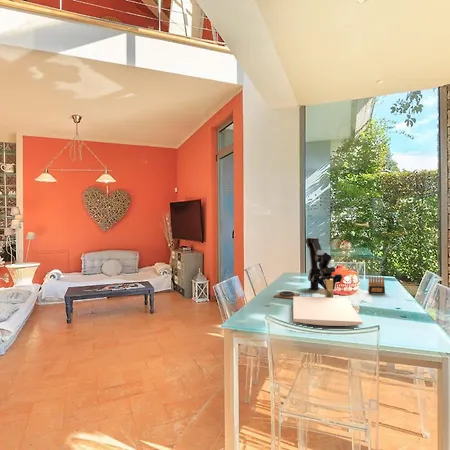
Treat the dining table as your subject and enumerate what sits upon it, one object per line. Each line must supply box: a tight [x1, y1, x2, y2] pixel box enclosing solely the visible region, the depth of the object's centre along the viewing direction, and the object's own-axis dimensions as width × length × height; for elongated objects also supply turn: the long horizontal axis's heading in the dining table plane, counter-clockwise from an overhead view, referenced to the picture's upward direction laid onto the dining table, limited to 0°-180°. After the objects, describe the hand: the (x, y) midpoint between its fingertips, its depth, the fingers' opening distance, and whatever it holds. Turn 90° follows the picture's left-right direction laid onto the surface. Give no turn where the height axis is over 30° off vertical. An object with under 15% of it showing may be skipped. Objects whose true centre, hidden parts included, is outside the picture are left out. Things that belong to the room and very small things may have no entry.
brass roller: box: [324, 278, 334, 298], centre depth 211 cm, size 5×5×13 cm
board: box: [292, 296, 363, 327], centre depth 180 cm, size 45×32×5 cm
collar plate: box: [273, 290, 301, 300], centre depth 224 cm, size 14×14×2 cm
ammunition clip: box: [367, 275, 386, 294], centre depth 227 cm, size 11×2×12 cm, turn 82°
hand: (329, 289), depth 210 cm, fingers closed on brass roller, 5 cm apart
